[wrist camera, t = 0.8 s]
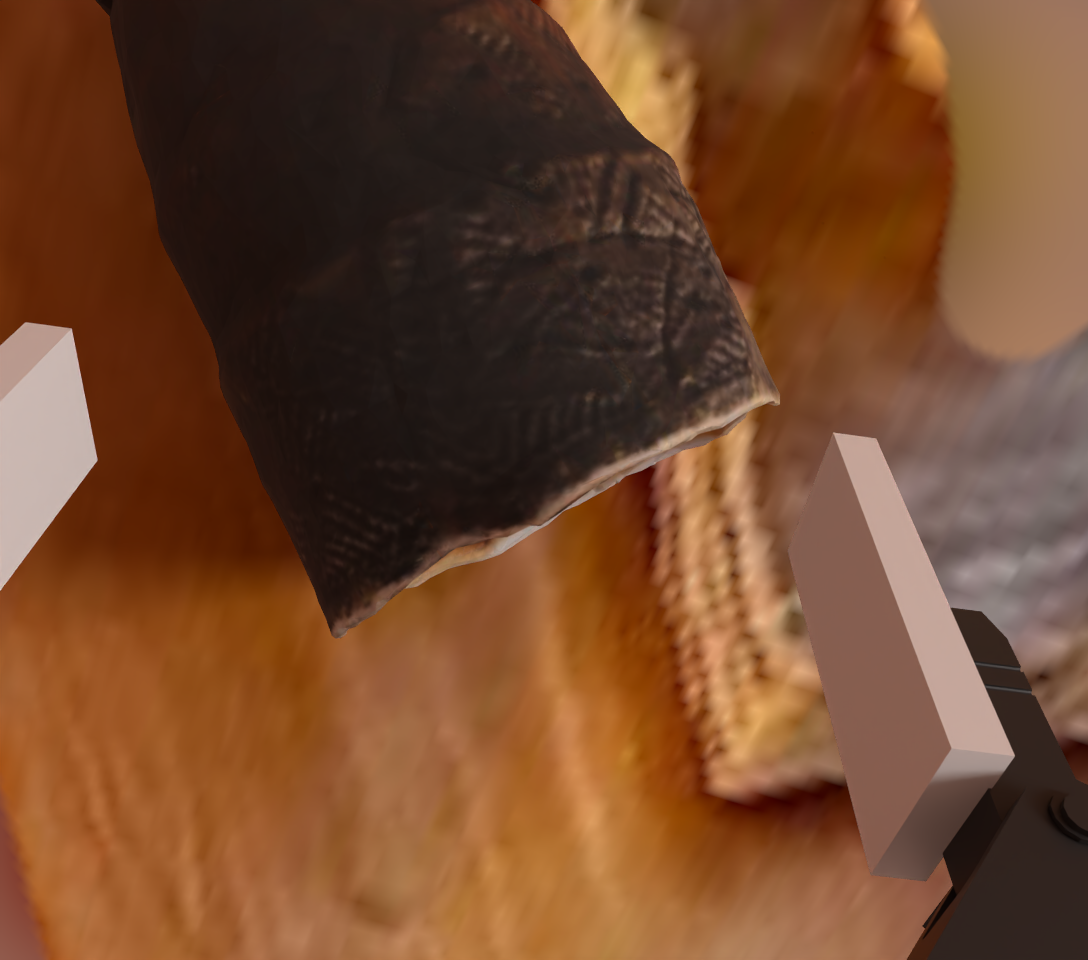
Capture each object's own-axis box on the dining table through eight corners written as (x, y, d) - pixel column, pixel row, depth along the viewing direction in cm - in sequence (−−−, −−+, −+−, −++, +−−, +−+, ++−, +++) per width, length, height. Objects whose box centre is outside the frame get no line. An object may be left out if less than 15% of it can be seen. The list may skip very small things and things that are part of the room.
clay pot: (292, -616, 21) (845, 360, 19) (456, -149, 36) (770, 415, 34) (-220, -235, 22) (240, 686, 21) (143, 55, 38) (425, 600, 36)
